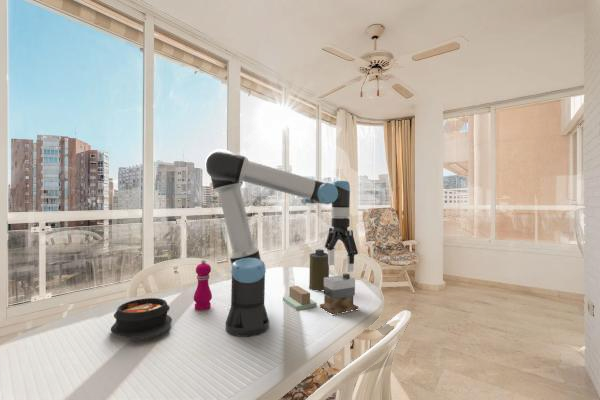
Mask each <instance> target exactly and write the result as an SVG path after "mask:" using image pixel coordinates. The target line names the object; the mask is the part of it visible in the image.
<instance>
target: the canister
mask: <svg viewBox="0 0 600 400" xmlns="http://www.w3.org/2000/svg"><path fill="white" fill-rule="evenodd" d="M324 277H330V265H328V252H325V250H324V249H321V248H318V249H315V252H313V253H310V254H309V281H308V283H309V284H308V288H310V289H309V290H311V289H312V290H311V291H313V290H318V291H317V292H322V291H321V290H324Z"/></svg>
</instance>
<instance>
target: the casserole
mask: <svg viewBox="0 0 600 400" xmlns="http://www.w3.org/2000/svg"><path fill="white" fill-rule="evenodd" d="M170 307H171V306H169V305H168V302H167V301H166V300H165V299H162V298H155V297H153V298H152V297H150V298H149V297H148V298H140V299H134V300H130V301H128V302H125V303H122V304H120V305H119V306H118V307H117V310H116V311H115V313H114V314H113V318H115V323H113V325H112V326H111V327H110V332H111V333H112V334H113V335H117V336H122V337H125V338H128V339H131V340H135V341H137V340H143V339H150V338H153V337H156V336H159V335H162V334H164V333H167V332H168V331H169V330H170V329H171V323H172V321H173V319H172V317H171V316H170V315H168V312H169V310H170V309H171V308H170Z"/></svg>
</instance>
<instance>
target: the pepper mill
mask: <svg viewBox="0 0 600 400" xmlns="http://www.w3.org/2000/svg"><path fill="white" fill-rule="evenodd" d="M206 262H207V261H206V260H205V259H202V260H201V263H199V264H197V266H196V267H195V273H196V274H197V275H196V279H197V285H196V286H197V287H196V289H195V291H194V294H193V301H194V302H195V303H194V309H195V310H196V311H207V310H209V309H211V307H212V305H211V300H212V298H213V294H212V291H211V289H210V285H209V279H210V278H211V277H210V273H211V271H212V268H211V265H210V264H209V263H206Z"/></svg>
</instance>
